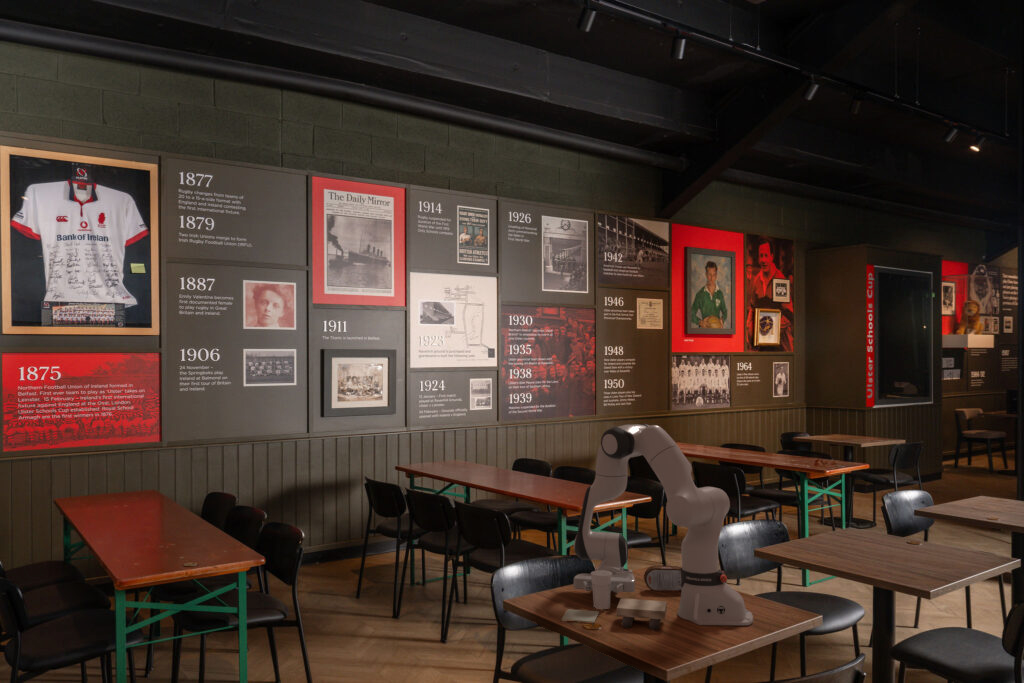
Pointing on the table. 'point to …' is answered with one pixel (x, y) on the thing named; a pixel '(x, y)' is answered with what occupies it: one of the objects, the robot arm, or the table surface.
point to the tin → (663, 578)
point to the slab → (642, 611)
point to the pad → (581, 615)
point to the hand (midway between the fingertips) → (601, 589)
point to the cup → (601, 588)
